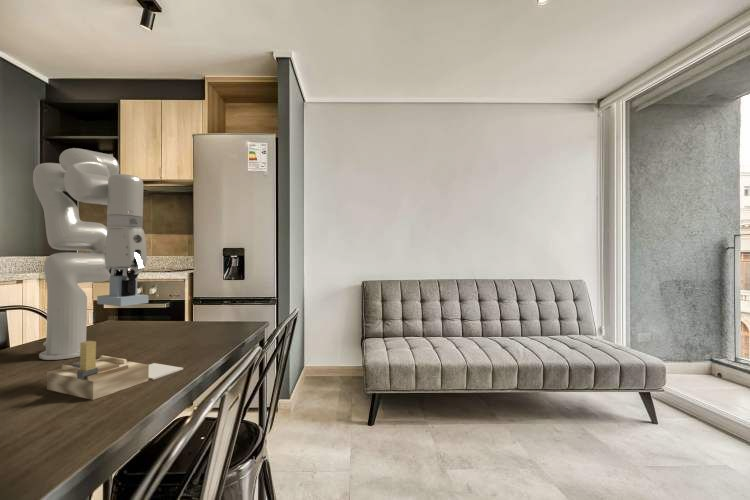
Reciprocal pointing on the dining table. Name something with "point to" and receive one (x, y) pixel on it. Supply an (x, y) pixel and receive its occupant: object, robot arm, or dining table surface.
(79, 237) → the robot arm
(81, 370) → the latch
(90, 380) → the tan box base
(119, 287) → the cover
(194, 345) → the dining table surface
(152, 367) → the mat
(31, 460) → the dining table surface
